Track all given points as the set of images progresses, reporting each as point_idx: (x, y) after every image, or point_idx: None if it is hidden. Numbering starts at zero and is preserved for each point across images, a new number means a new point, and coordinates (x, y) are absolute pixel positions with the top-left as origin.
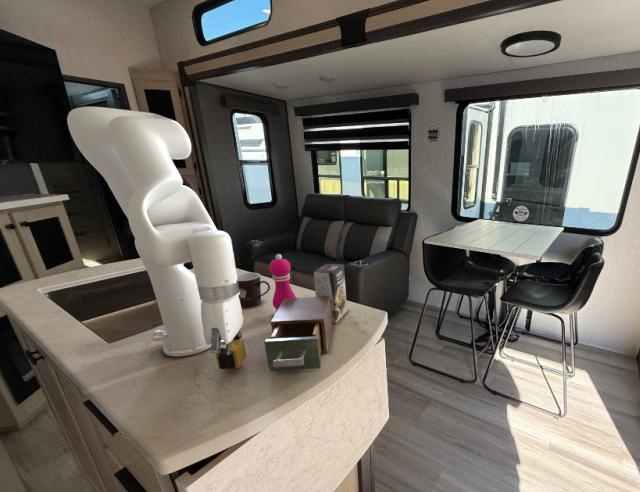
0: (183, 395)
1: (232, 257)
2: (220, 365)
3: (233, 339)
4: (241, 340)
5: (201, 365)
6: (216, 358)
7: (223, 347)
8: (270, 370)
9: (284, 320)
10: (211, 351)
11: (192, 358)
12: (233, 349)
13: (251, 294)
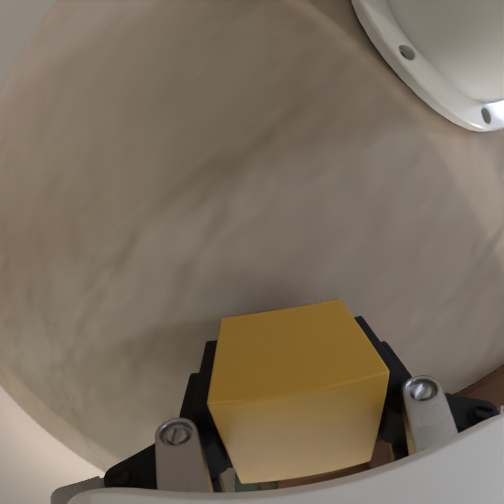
0: (66, 229)
1: None
2: (205, 356)
3: (385, 422)
4: (361, 459)
5: (298, 149)
6: (214, 358)
7: (267, 431)
8: (235, 477)
9: None
10: (53, 500)
11: (355, 68)
12: (250, 473)
13: None
